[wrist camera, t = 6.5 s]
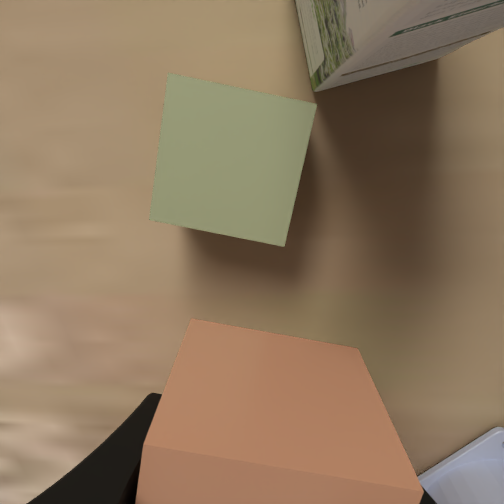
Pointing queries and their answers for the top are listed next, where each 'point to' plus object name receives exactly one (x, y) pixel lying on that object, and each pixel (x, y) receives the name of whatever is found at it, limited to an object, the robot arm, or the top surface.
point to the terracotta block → (271, 426)
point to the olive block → (229, 159)
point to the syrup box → (387, 34)
